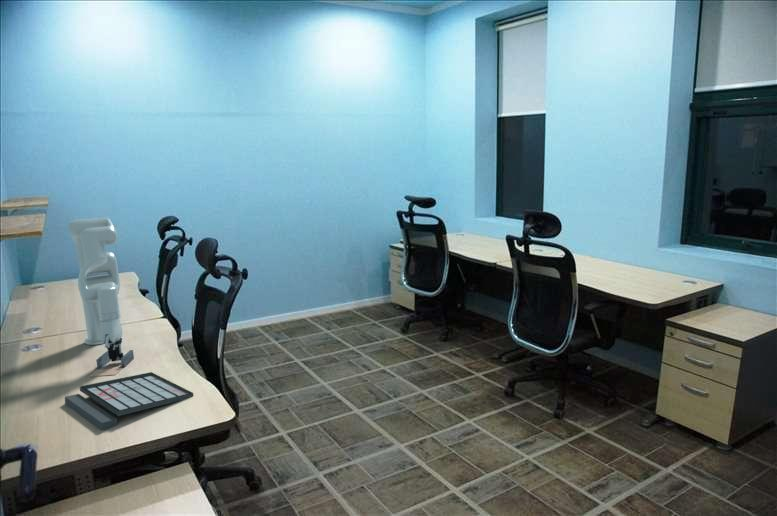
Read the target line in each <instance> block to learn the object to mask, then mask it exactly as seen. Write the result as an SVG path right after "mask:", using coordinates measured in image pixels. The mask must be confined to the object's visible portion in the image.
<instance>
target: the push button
mask: <svg viewBox="0 0 777 516" xmlns="http://www.w3.org/2000/svg"><path fill="white" fill-rule="evenodd" d="M111 342H112V341H111ZM111 342H110V343H111ZM122 342H123V338H122V337H121V338H120V337H119V338H118V340H117V341H116V342H115V349H116V350H117V359H111V360H107V361H109V362H117V361H118V362H119V361H121V358H122V357H123V356H124V352H123V351H122V346H121V345H122ZM120 344H121V345H120ZM110 345H112V346H113V344H110ZM118 345H119V346H118ZM119 350H120V352H119ZM107 359H109V358H107Z"/></svg>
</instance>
